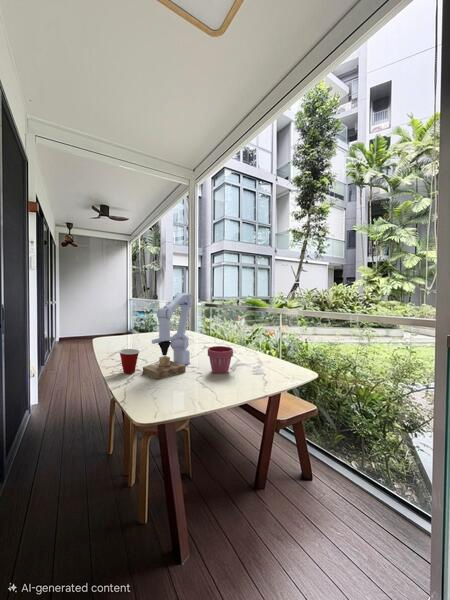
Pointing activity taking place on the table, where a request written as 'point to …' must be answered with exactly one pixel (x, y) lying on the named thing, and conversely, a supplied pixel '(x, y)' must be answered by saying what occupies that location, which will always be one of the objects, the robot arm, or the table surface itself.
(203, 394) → the table surface
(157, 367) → the walnut socket block
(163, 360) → the oak peg
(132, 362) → the plastic cup
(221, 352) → the plant pot
